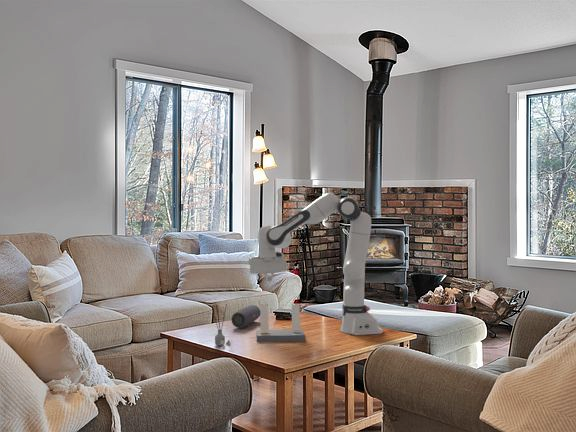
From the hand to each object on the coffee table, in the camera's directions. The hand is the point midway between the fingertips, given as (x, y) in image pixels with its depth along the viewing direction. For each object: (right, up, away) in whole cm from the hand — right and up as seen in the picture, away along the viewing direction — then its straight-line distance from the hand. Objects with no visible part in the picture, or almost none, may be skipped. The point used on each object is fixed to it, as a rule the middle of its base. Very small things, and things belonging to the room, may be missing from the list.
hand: (269, 281), depth 324 cm
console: (+6, -27, -16) cm, 32 cm away
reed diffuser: (-23, -28, -29) cm, 47 cm away
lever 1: (-2, -24, -17) cm, 30 cm away
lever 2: (+14, -24, -16) cm, 32 cm away
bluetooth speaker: (-13, -26, +14) cm, 32 cm away
